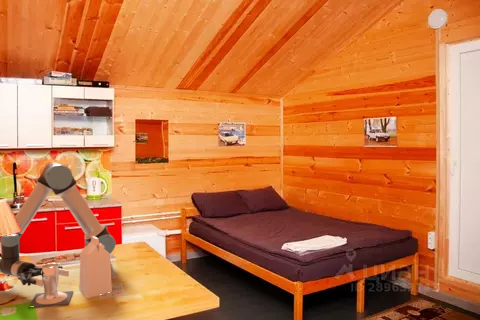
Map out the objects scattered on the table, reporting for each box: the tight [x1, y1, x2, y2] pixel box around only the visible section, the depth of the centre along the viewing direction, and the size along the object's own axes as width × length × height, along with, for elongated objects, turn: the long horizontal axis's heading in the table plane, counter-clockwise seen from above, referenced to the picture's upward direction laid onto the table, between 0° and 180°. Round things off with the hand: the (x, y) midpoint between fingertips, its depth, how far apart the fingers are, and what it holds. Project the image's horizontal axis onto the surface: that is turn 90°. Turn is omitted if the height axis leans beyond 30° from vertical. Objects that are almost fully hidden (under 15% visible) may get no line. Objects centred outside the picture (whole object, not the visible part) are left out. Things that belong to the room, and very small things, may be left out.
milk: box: [78, 236, 113, 299], centre depth 199 cm, size 12×12×26 cm
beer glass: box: [41, 262, 60, 301], centre depth 188 cm, size 7×7×15 cm
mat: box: [28, 290, 74, 308], centre depth 189 cm, size 16×14×1 cm
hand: (55, 278), depth 187 cm, fingers open, 13 cm apart
